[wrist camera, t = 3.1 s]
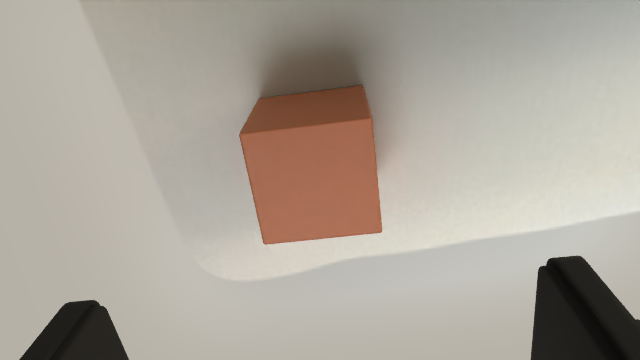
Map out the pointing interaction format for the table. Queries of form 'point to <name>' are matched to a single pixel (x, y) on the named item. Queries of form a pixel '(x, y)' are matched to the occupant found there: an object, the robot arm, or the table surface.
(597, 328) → the robot arm
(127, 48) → the table surface
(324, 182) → the block
